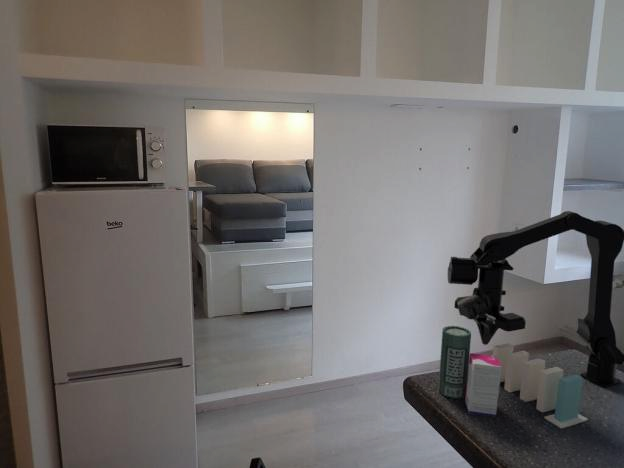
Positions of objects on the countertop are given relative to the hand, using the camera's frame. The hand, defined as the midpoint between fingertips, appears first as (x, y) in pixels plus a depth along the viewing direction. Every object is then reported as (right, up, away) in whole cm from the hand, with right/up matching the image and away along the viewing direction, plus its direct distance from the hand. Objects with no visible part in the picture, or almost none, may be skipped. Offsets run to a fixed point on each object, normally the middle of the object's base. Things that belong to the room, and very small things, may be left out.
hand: (485, 344), depth 115 cm
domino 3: (+6, -9, -12) cm, 17 cm away
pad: (+9, -11, -20) cm, 25 cm away
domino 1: (+2, -8, -4) cm, 9 cm away
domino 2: (+4, -9, -8) cm, 13 cm away
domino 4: (+7, -10, -16) cm, 21 cm away
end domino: (+9, -11, -20) cm, 25 cm away
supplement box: (-8, -10, -17) cm, 21 cm away
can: (-12, -9, -10) cm, 18 cm away
